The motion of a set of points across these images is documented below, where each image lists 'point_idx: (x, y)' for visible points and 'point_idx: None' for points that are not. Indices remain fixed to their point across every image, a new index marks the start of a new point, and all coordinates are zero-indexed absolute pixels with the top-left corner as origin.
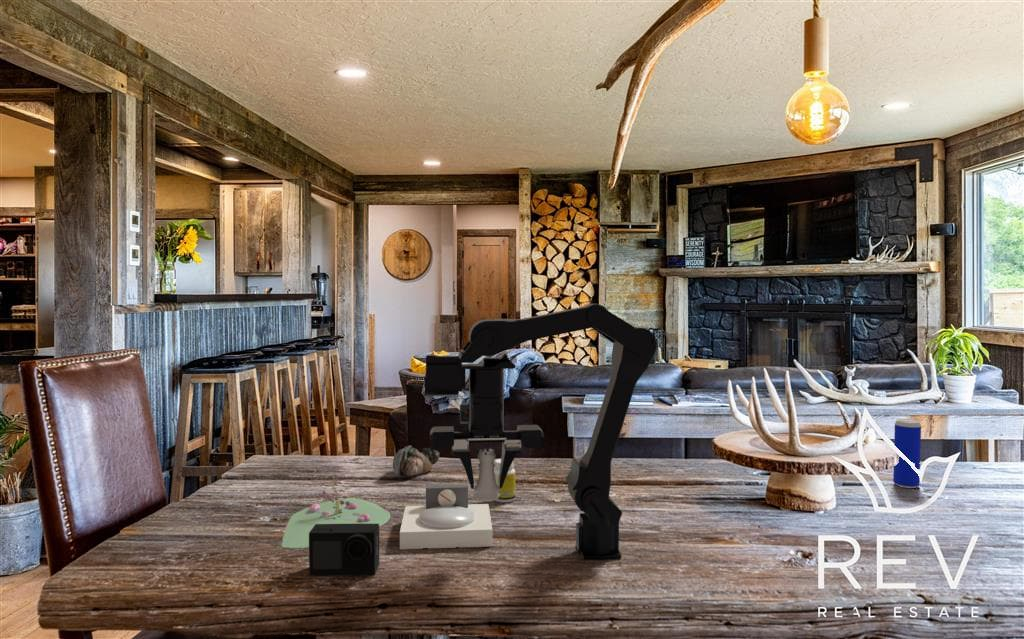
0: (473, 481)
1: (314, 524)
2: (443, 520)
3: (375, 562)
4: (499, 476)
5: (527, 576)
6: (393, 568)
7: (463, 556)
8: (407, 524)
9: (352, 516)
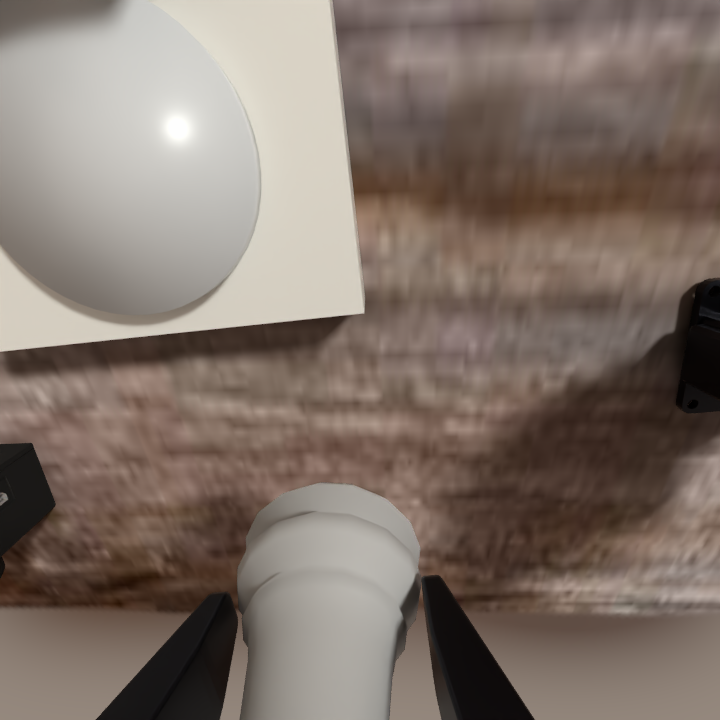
0: (220, 710)
1: None
2: (118, 261)
3: (28, 519)
4: (436, 669)
5: (473, 509)
6: (87, 468)
7: (273, 384)
8: None
9: None
